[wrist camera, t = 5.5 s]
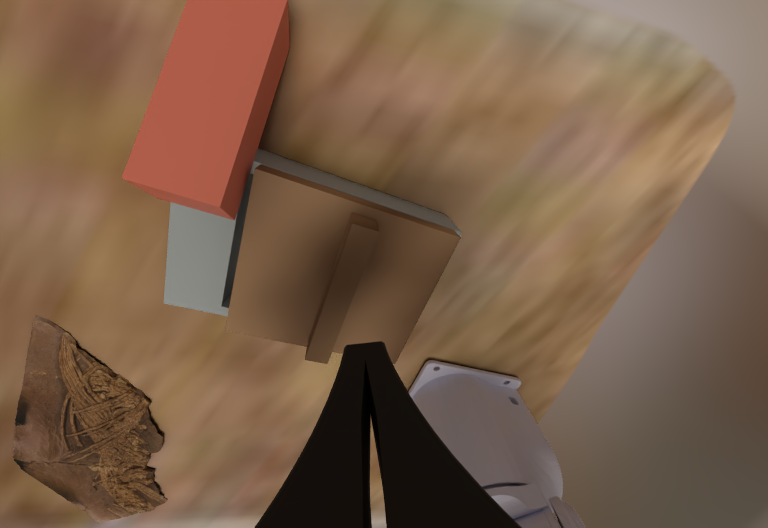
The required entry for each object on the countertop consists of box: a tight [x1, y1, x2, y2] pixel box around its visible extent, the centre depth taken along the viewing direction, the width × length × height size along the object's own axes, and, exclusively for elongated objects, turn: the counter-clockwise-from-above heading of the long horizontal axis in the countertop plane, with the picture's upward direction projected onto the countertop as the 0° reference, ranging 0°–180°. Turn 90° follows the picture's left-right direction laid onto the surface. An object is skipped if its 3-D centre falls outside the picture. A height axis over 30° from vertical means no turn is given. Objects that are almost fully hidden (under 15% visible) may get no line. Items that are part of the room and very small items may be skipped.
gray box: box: [164, 148, 461, 316], centre depth 17 cm, size 14×9×3 cm, turn 69°
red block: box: [122, 0, 290, 220], centre depth 12 cm, size 3×9×3 cm
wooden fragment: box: [12, 315, 167, 523], centre depth 25 cm, size 26×11×1 cm, turn 163°
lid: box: [225, 164, 461, 364], centre depth 15 cm, size 10×9×2 cm
